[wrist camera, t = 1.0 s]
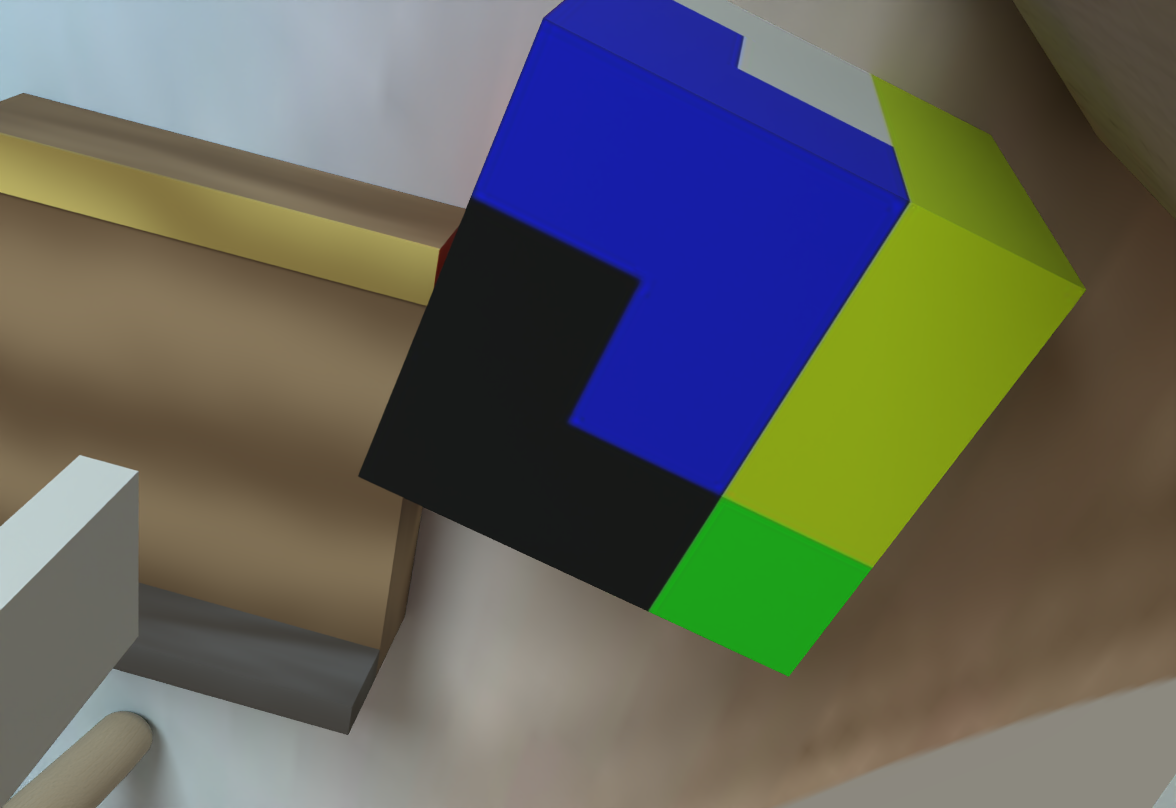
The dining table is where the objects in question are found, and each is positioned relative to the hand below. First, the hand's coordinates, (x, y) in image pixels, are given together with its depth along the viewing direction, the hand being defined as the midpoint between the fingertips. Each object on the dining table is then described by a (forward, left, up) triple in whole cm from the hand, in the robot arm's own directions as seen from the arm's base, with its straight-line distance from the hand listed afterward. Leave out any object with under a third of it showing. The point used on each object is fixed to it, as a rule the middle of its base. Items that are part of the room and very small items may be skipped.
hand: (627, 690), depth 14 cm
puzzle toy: (0, 0, -18) cm, 18 cm away
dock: (+9, -13, -18) cm, 24 cm away
